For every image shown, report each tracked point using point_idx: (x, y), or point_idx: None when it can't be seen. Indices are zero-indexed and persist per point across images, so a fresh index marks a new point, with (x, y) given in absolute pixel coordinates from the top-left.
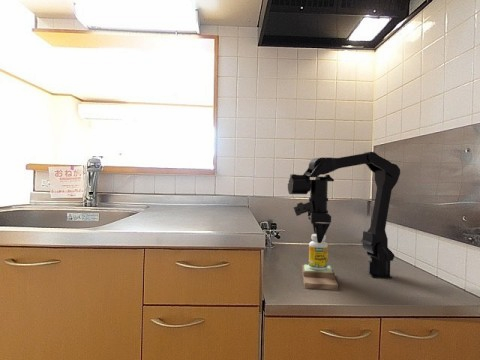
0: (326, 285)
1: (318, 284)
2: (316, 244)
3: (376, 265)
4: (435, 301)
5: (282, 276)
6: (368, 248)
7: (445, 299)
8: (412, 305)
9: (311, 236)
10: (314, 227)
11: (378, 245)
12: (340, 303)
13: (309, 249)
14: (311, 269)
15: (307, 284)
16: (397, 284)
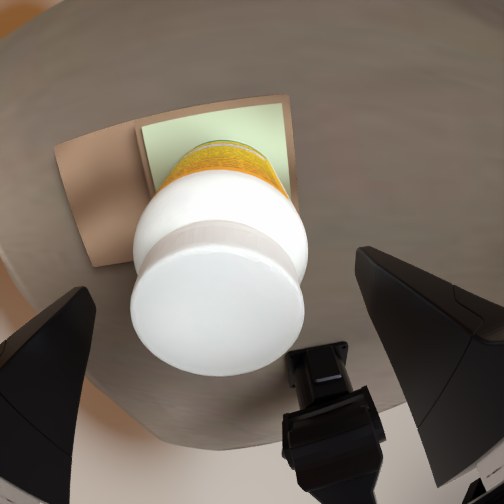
0: (79, 227)
1: (68, 199)
2: (136, 257)
3: (303, 388)
4: (148, 416)
5: (190, 12)
6: (319, 425)
7: (170, 427)
8: (98, 386)
9: (201, 234)
10: (423, 314)
11: (287, 459)
12: (11, 263)
13: (185, 168)
14: (179, 157)
15: (58, 156)
16: (239, 390)
